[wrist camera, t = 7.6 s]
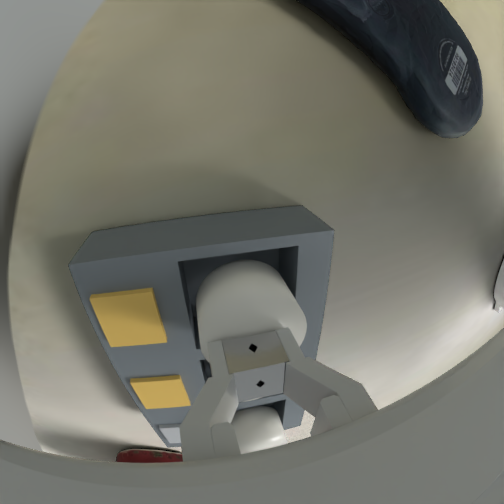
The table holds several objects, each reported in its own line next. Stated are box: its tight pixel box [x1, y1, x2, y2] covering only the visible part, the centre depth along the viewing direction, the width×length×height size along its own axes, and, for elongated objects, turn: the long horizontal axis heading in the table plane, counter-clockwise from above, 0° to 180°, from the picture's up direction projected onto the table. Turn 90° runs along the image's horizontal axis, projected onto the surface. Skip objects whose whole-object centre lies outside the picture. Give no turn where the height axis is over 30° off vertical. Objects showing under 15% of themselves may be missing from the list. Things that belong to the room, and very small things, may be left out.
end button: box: [196, 260, 307, 363], centre depth 11 cm, size 4×4×2 cm
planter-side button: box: [231, 406, 288, 454], centre depth 16 cm, size 4×4×2 cm
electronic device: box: [296, 0, 483, 138], centre depth 9 cm, size 10×6×15 cm
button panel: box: [68, 205, 334, 447], centre depth 15 cm, size 11×17×4 cm, turn 2°
